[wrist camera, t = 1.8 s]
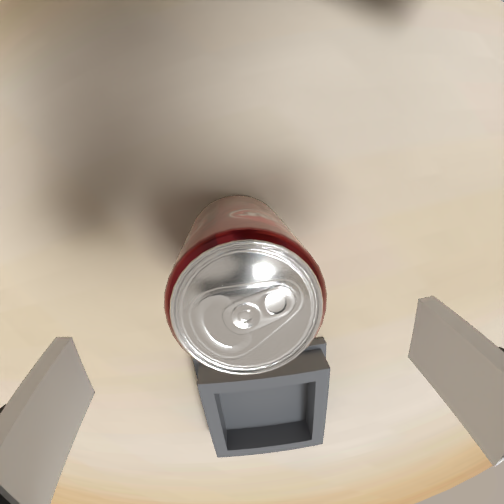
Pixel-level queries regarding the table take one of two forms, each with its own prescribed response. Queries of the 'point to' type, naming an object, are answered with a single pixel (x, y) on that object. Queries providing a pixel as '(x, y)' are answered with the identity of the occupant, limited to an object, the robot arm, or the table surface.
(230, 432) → the box
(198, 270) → the soda can
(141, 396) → the table surface
